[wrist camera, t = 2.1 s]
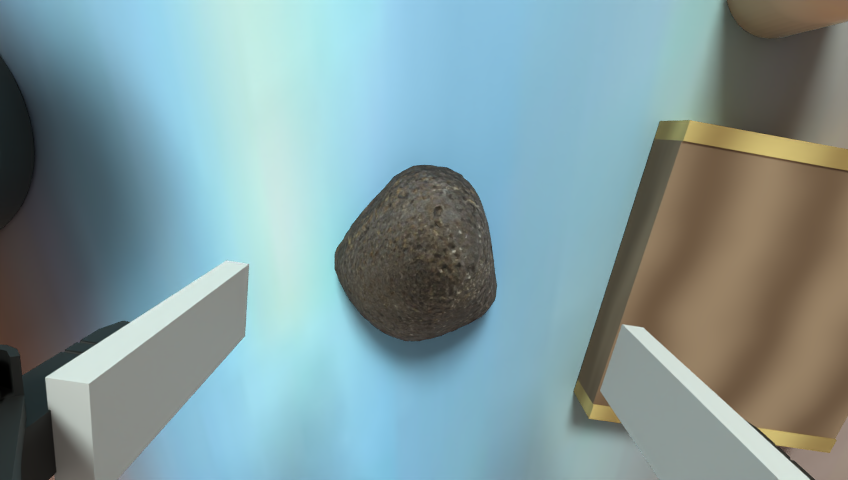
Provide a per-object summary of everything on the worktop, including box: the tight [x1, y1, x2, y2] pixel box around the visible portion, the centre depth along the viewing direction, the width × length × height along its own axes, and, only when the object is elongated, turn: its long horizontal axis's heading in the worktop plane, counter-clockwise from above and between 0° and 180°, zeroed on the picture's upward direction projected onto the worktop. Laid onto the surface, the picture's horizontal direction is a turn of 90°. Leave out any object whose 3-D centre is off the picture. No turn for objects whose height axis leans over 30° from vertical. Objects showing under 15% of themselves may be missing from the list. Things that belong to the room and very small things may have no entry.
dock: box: [574, 120, 848, 453], centre depth 24 cm, size 16×18×3 cm
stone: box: [335, 165, 497, 341], centre depth 23 cm, size 10×8×10 cm
